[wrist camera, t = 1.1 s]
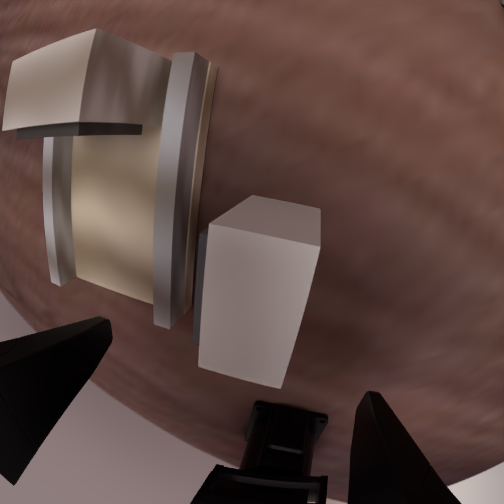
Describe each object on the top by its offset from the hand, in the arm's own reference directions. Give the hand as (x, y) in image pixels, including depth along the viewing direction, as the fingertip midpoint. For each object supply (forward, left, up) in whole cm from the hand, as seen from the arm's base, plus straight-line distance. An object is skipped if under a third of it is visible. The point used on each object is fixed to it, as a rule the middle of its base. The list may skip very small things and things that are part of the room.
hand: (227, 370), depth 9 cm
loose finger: (0, 0, -10) cm, 10 cm away
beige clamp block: (+3, +11, -10) cm, 15 cm away
